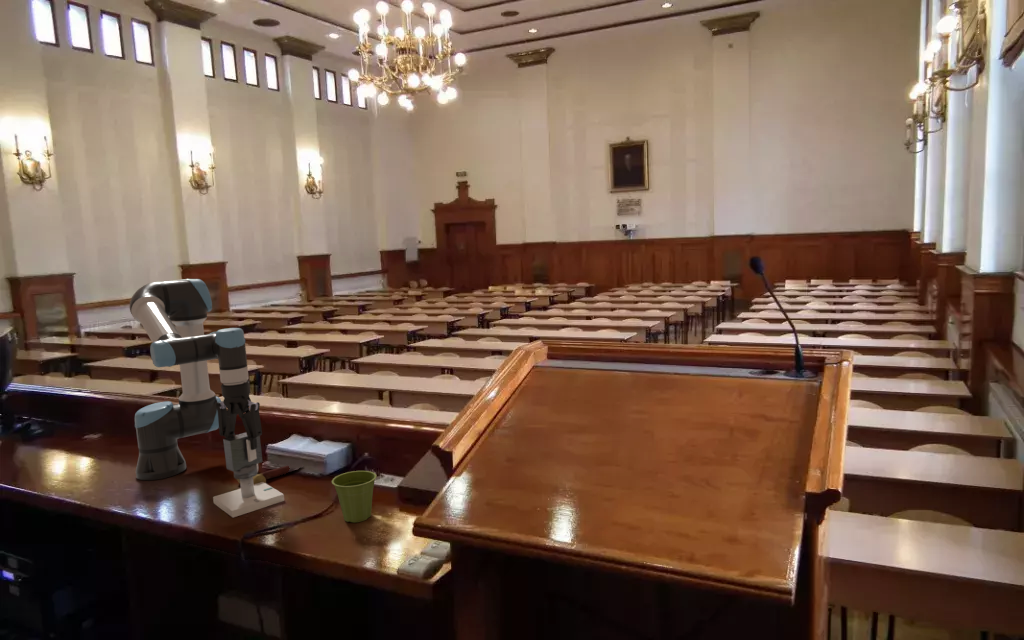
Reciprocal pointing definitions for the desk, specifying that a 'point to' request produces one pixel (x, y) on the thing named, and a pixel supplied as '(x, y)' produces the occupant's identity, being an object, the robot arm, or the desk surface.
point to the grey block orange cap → (241, 456)
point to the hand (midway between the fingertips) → (243, 459)
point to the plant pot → (355, 494)
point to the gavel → (269, 474)
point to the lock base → (248, 498)
